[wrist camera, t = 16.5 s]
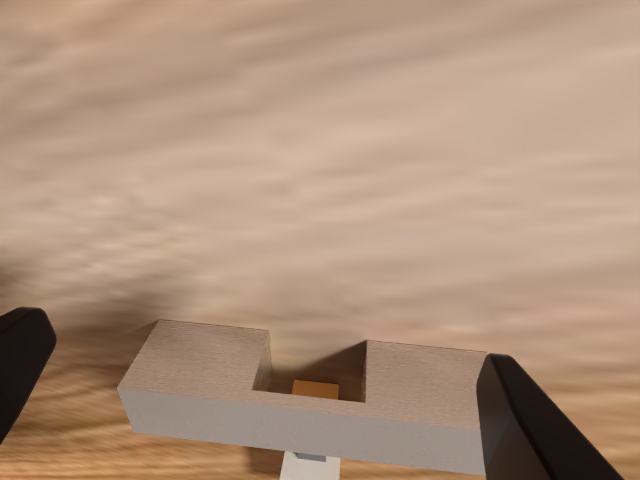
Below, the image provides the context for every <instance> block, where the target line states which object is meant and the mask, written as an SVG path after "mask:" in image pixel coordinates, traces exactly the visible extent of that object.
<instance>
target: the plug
mask: <svg viewBox="0 0 640 480" xmlns="http://www.w3.org/2000/svg"><path fill="white" fill-rule="evenodd" d="M338 394H339V384H329V383H320V382H311V381H302V380H294V385H293V390H292V395H299V396H308V397H317V398H326V399H335V400H338ZM339 472H340V458H337V457H329V456H320V455H312V454H304V453H296V452H288V451H285V454H284V459H283V464H282V470H281V475H280V480H339Z"/></svg>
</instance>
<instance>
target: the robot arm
mask: <svg viewBox="0 0 640 480" xmlns="http://www.w3.org/2000/svg"><path fill="white" fill-rule="evenodd" d="M55 345H56V334H55V332H54V330H53V327H52V325H51V323H50V321H49V319H48V317H47V315H46V313H45V311H44V310H42V309H40V308H34V307H19V308H16V309H14V310H12V311H10V312H8V313H6V314H4V315H2V316H0V445H1V443H2V442H3V440H4V439H5V437H6V435H7V434H8V432H9V431H10V429H11V428H12V426H13V424H14V423H15V421H16V420H17V418H18V416H19V415H20V413H21V411H22V409H23V407H24V405H25V404H26V402H27V400H28V398H29V396H30V394H31V392H32V390H33V388H34V386H35V384H36V383H37V381H38V379H39V377H40V375H41V373H42V371H43V369H44V367H45V365H46V363H47V361H48V359H49V357H50V356H51V354H52V352H53V350H54V348H55ZM476 395H477V404H478V413H479V423H480V432H481V441H482V450H483V459H484V467H485V474H486V479H487V480H624V479H623V477H622V476H621V475H620V474H619V473H618V472H617V471H616V470H615V469H614V468H613V467H612V465H611V464H610V463H609V462H608V461H607V460H606V459H605V458H604V457H603V456H602V455H601V453H600V452H599V451H598V450H597V449H596V448H595V447H594V446H593V445H592V444H591V442H590V441H589V440H588V439H587V438H586V437H585V436H584V435H583V434H582V433H581V432H580V430H579V429H578V428H577V427H576V426H575V425H574V424H573V423H572V422H571V421H570V420H569V418H568V417H567V416H566V415H565V414H564V413H563V412H562V411H561V410H560V409H559V408H558V406H557V405H556V404H555V403H554V402H553V401H552V400H551V399H550V398H549V397H548V396H547V394H546V393H545V392H544V391H543V390H542V389H541V388H540V387H539V386H538V385H537V384H536V382H535V381H534V380H533V379H532V378H531V377H530V376H529V375H528V374H527V373H526V371H525V370H524V369H523V368H522V367H521V366H520V365H519V364H518V363H517V362H516V361H515V359H514V358H512V357H511V356H509V355H504V354H494V353H490V354H488V355H487V356H486V357H485V360H484V362H483V365H482V368H481V371H480V374H479V376H478V379H477V384H476Z"/></svg>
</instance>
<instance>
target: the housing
mask: <svg viewBox="0 0 640 480" xmlns="http://www.w3.org/2000/svg"><path fill="white" fill-rule="evenodd" d="M486 356H487V352H478V351H468V350H458V349H448V348H438V347H428V346H418V345H408V344H398V343H388V342H378V341H368V340H367V346H366V354H365V362H364V371H363V379H362V397H361V402H352V401H343V400H335V399H326V398H317V397H308V396H299V395H290V394H281V393H272V392H267V390H268V386H269V382H270V378H271V374H272V370H271V355H270V340H269V331H268V330H258V329H248V328H238V327H228V326H218V325H208V324H198V323H188V322H178V321H167V320H159V321H158V322H157V324H156V325H155V327H154V329H153V330H152V332H151V334H150V335H149V337H148V338H147V340H146V342H145V343H144V345H143V346H142V348H141V350H140V351H139V353H138V355H137V356H136V358H135V359H134V361H133V363H132V364H131V366H130V368H129V369H128V371H127V372H126V374H125V376H124V377H123V379H122V381H121V382H120V384H119V385H118V387H117V391H118V393H119V396H120V398H121V401H122V403H123V406H124V408H125V411H126V413H127V416H128V418H129V421H130V424H131V426H132V429H133V431H134V432H135V433H143V434H151V435H159V436H167V437H175V438H183V439H191V440H199V441H208V442H216V443H224V444H232V445H240V446H248V447H256V448H264V449H272V450H280V451H288V452H296V453H304V454H312V455H320V456H329V457H337V458H345V459H353V460H361V461H369V462H377V463H385V464H393V465H401V466H409V467H417V468H425V469H433V470H442V471H450V472H458V473H466V474H474V475H482V476H486V474H485V467H484V459H483V450H482V441H481V432H480V423H479V413H478V404H477V395H476V384H477V379H478V376H479V374H480V371H481V368H482V365H483V362H484V360H485V357H486Z"/></svg>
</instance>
